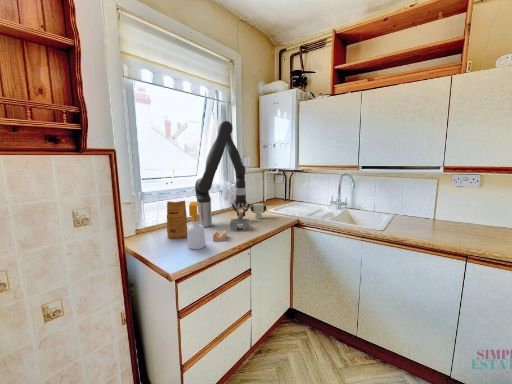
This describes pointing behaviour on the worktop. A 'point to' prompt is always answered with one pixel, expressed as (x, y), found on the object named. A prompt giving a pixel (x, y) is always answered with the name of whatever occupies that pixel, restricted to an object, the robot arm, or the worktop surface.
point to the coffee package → (176, 219)
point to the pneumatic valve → (258, 210)
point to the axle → (240, 215)
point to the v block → (219, 236)
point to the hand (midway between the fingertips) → (241, 216)
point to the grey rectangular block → (239, 221)
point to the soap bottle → (195, 229)
